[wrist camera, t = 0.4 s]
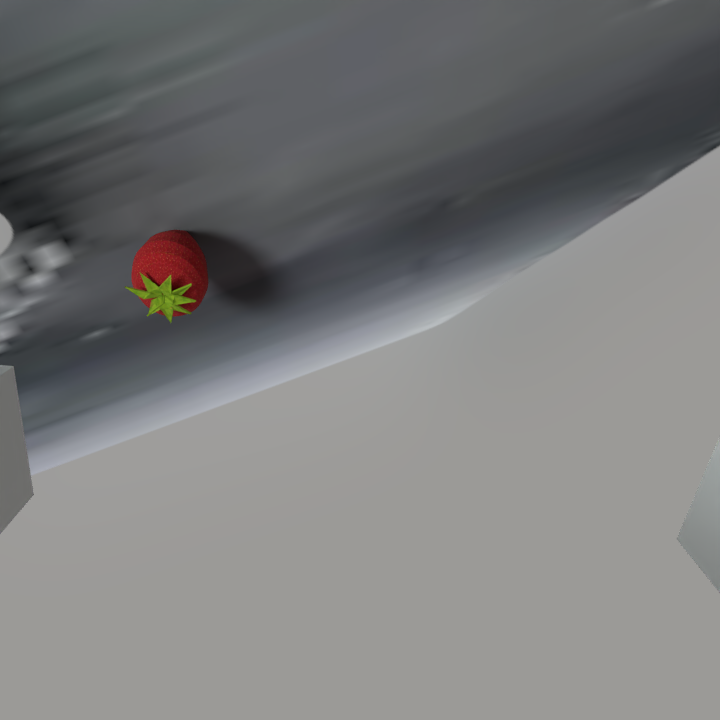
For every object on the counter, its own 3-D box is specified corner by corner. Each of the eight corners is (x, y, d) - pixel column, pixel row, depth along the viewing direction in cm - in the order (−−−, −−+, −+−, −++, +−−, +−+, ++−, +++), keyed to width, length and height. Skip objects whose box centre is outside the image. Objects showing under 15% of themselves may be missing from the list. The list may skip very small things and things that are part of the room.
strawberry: (150, 261, 50) (122, 345, 44) (144, 192, 44) (111, 277, 38) (216, 272, 51) (198, 355, 45) (219, 205, 45) (199, 290, 39)
